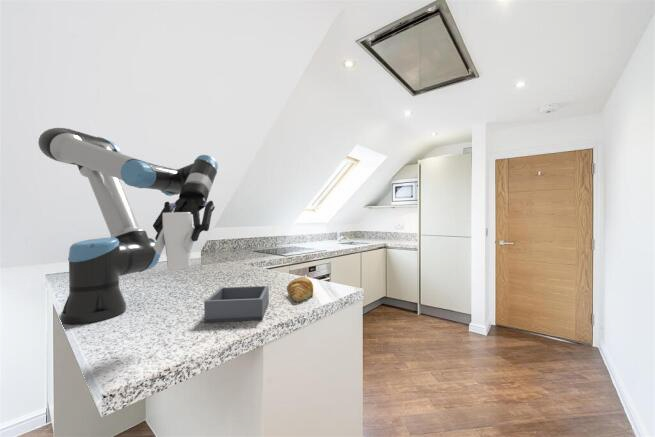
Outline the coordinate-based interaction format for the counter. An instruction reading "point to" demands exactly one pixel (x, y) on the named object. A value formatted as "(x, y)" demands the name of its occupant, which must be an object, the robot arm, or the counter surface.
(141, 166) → the robot arm
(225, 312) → the bin
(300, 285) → the croissant
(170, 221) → the white plastic tumbler
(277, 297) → the counter surface
